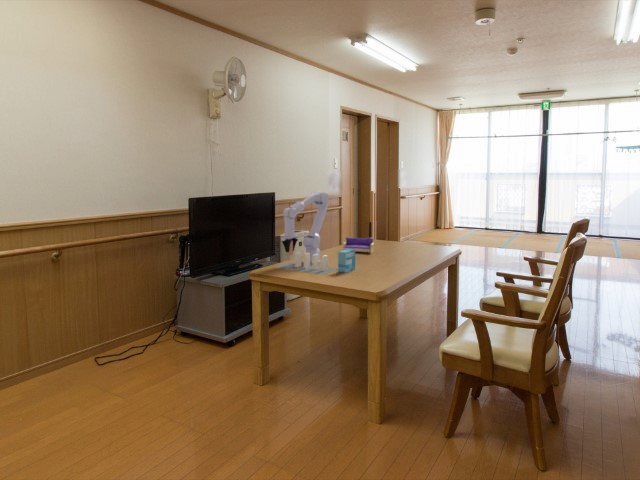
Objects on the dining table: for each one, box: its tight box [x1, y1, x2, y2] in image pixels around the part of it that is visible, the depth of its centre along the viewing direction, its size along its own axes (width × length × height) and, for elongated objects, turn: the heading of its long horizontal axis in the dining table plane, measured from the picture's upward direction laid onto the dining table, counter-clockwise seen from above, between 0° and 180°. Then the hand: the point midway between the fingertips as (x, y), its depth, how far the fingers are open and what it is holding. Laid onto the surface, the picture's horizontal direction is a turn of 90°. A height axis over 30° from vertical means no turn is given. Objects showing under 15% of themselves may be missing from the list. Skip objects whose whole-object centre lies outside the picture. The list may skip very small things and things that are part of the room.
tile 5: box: [320, 254, 329, 271], centre depth 259 cm, size 4×2×8 cm, turn 149°
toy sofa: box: [342, 236, 375, 255], centre depth 318 cm, size 21×9×10 cm, turn 73°
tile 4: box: [312, 254, 320, 270], centre depth 262 cm, size 4×2×8 cm, turn 149°
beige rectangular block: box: [294, 251, 303, 267], centre depth 268 cm, size 4×2×8 cm, turn 149°
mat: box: [272, 262, 338, 276], centre depth 265 cm, size 17×34×1 cm, turn 59°
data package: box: [337, 249, 356, 274], centre depth 258 cm, size 12×4×12 cm, turn 147°
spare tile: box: [286, 240, 294, 257], centre depth 271 cm, size 4×2×8 cm, turn 149°
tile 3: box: [303, 252, 311, 269], centre depth 265 cm, size 4×2×8 cm, turn 149°
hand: (289, 251), depth 271 cm, fingers closed on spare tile, 4 cm apart
